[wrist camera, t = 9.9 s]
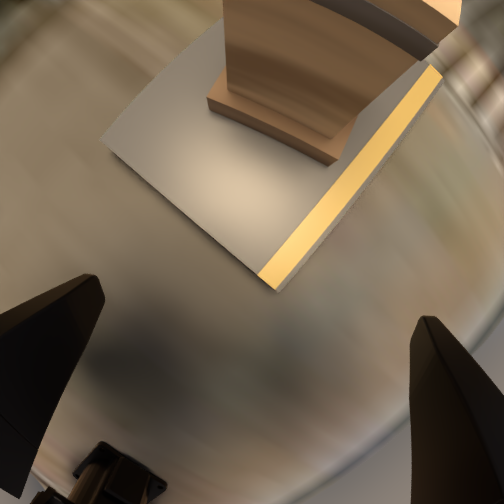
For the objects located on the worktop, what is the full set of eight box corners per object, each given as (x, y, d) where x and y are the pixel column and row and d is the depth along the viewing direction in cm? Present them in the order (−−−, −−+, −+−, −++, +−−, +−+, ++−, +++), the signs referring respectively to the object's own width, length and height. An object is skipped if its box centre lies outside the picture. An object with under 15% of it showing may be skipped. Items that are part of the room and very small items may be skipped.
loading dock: (273, 284, 19) (279, 293, 16) (114, 149, 18) (98, 139, 15) (427, 92, 19) (445, 79, 16) (291, -14, 18) (297, -35, 15)
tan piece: (328, 166, 16) (481, 69, 4) (209, 109, 16) (171, -69, 4) (367, 77, 16) (484, -46, 4) (261, 26, 15) (287, -138, 3)
